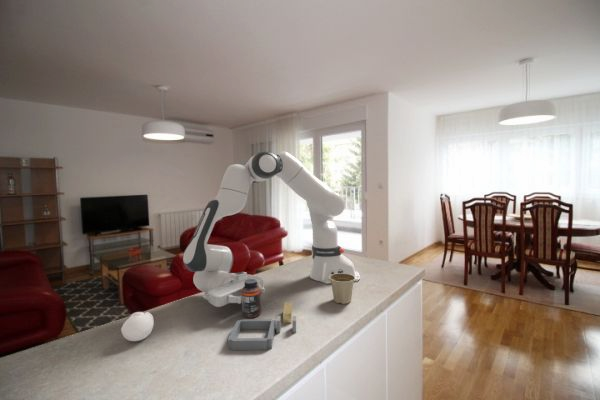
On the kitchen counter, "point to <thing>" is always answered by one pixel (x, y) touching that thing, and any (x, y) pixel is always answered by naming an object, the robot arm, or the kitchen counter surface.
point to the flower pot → (342, 287)
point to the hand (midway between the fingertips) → (252, 295)
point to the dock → (256, 343)
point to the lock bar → (287, 312)
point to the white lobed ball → (137, 326)
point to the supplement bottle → (251, 299)
